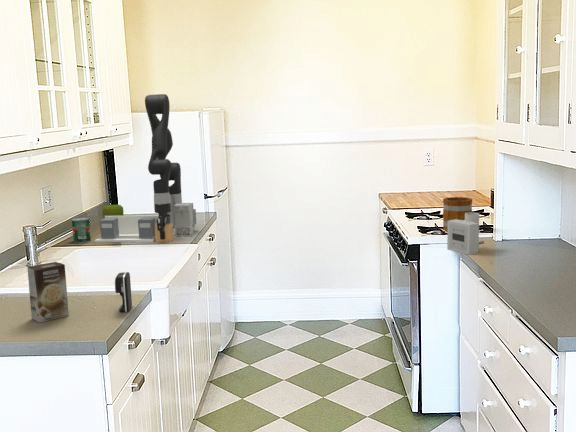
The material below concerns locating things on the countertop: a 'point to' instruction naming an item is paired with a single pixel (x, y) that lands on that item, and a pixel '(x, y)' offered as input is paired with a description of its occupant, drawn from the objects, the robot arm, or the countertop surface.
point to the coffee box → (48, 291)
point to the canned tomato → (81, 230)
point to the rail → (126, 237)
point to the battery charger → (124, 290)
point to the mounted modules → (112, 230)
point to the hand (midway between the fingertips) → (164, 237)
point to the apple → (112, 210)
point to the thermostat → (464, 234)
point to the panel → (129, 228)
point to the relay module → (167, 233)
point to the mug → (455, 209)
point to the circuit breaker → (184, 219)
